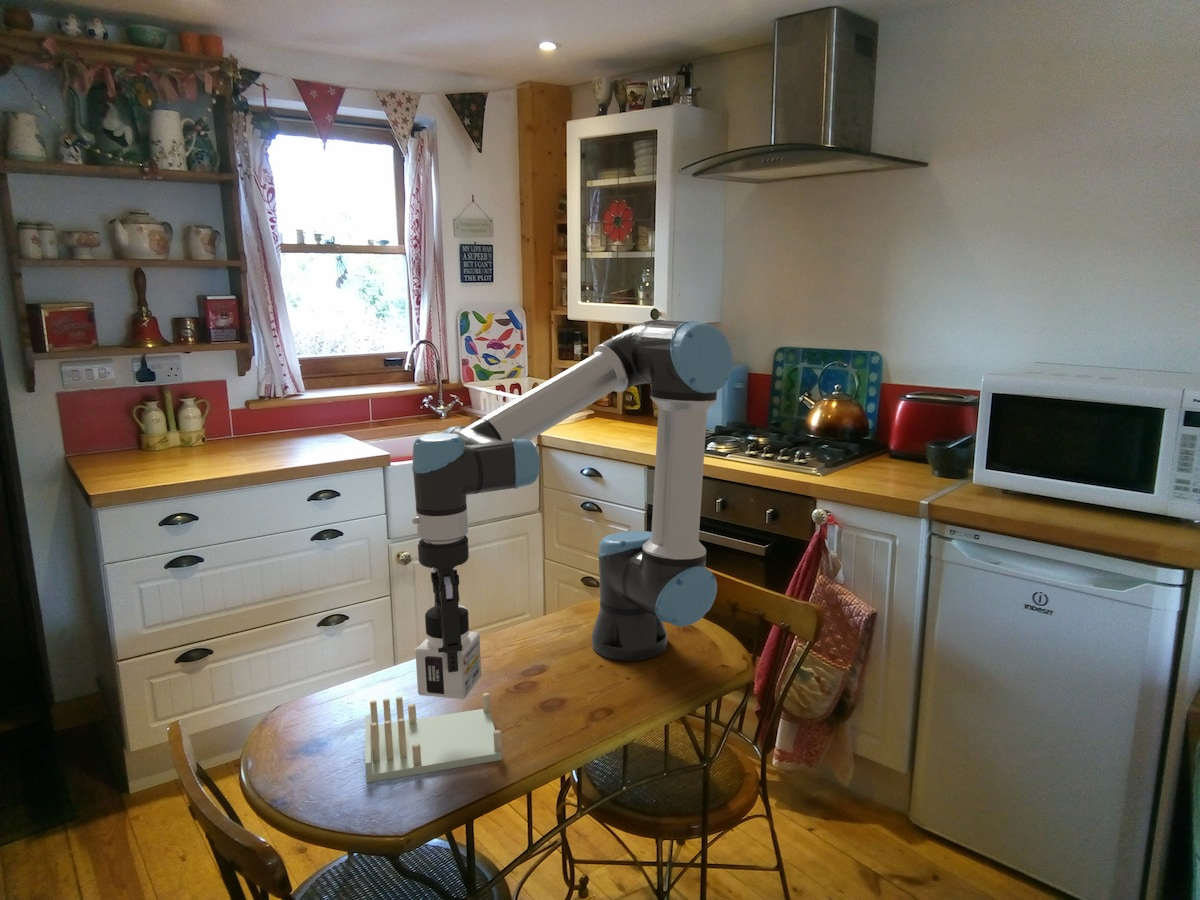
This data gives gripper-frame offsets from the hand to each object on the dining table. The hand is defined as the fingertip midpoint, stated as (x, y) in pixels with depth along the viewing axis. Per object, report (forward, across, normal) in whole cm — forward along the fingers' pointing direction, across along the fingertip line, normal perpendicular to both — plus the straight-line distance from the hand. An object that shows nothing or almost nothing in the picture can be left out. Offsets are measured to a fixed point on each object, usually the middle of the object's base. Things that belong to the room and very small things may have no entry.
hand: (449, 672), depth 128 cm
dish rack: (+12, 0, -3) cm, 13 cm away
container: (+2, 0, 0) cm, 2 cm away
